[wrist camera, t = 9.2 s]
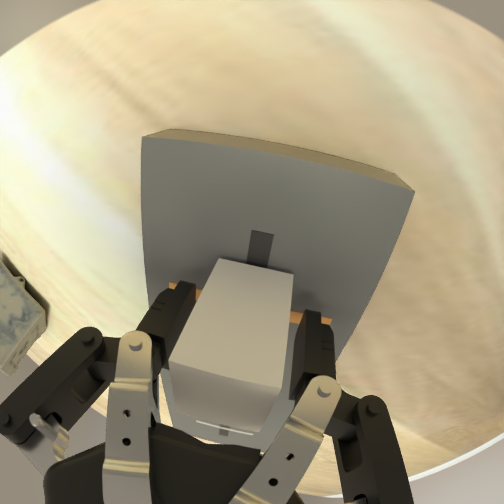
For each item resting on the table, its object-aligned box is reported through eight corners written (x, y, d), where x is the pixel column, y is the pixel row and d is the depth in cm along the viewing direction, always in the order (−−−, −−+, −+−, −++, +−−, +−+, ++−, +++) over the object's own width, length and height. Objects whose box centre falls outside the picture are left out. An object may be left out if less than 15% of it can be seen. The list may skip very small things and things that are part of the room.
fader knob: (276, 332, 15) (259, 432, 10) (213, 318, 15) (176, 411, 10) (293, 274, 13) (281, 388, 7) (219, 258, 13) (168, 360, 8)
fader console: (273, 433, 29) (270, 453, 27) (181, 411, 30) (174, 430, 27) (394, 173, 12) (415, 191, 10) (170, 128, 13) (141, 137, 11)
